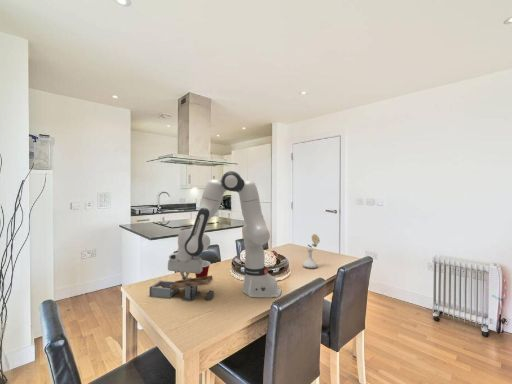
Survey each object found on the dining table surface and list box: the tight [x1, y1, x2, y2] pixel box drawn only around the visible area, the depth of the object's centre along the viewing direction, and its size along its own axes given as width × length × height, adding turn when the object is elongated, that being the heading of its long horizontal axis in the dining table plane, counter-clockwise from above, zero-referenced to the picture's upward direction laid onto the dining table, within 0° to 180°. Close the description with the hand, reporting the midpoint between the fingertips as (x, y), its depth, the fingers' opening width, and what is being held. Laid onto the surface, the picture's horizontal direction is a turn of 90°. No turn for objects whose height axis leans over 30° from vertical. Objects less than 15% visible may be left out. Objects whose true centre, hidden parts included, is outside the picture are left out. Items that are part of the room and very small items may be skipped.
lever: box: [170, 275, 213, 290], centre depth 142 cm, size 22×14×2 cm, turn 79°
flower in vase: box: [301, 233, 320, 269], centre depth 192 cm, size 13×11×25 cm
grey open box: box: [149, 280, 180, 299], centre depth 142 cm, size 12×10×5 cm
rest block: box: [205, 289, 215, 301], centre depth 137 cm, size 2×5×3 cm, turn 169°
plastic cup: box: [194, 259, 211, 278], centre depth 160 cm, size 11×11×12 cm
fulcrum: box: [181, 285, 202, 302], centre depth 139 cm, size 6×11×8 cm, turn 169°
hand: (184, 279), depth 147 cm, fingers closed
